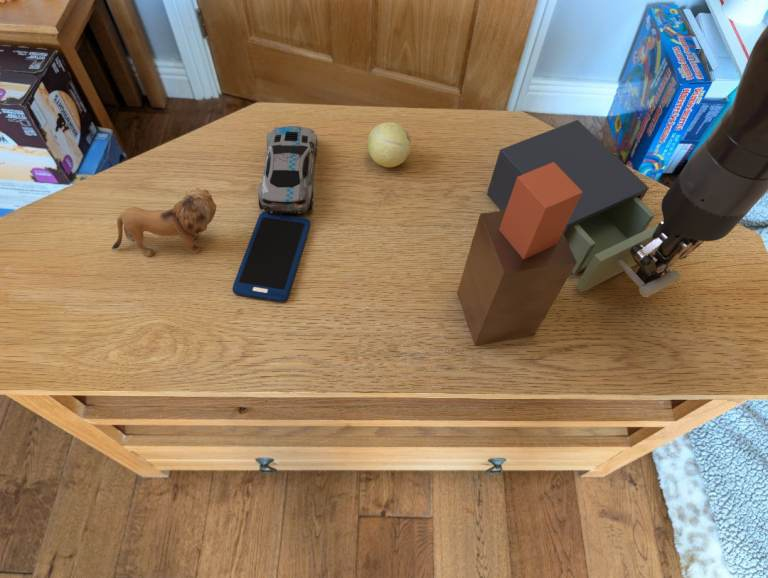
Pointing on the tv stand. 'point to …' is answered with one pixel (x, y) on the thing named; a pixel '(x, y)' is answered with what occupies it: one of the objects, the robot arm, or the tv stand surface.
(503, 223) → the block
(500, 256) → the stand
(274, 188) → the toy car
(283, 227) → the cell phone
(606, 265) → the drawer
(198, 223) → the lion figurine
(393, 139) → the tennis ball
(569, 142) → the cabinet
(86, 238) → the tv stand surface
